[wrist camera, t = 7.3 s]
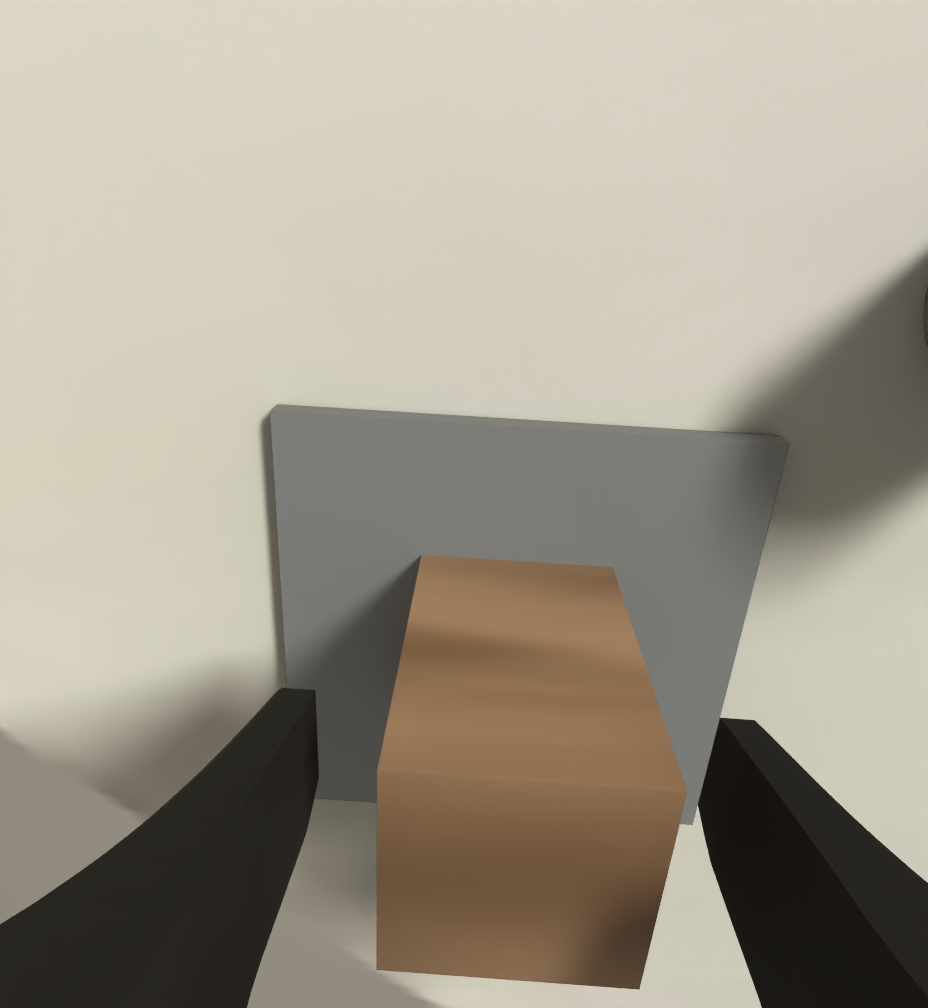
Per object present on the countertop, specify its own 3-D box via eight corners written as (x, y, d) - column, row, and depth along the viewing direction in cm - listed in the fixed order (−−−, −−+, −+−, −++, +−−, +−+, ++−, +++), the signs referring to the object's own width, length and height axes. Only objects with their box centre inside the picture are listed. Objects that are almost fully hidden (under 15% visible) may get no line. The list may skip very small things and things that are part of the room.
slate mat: (686, 808, 18) (692, 825, 17) (298, 781, 18) (293, 796, 17) (779, 435, 14) (789, 443, 13) (277, 404, 14) (270, 411, 13)
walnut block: (588, 718, 16) (639, 989, 10) (416, 707, 16) (376, 969, 10) (612, 567, 14) (686, 791, 9) (422, 555, 14) (377, 770, 9)
